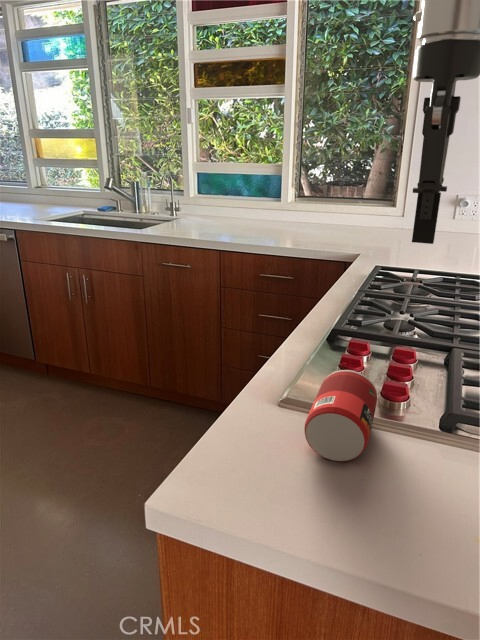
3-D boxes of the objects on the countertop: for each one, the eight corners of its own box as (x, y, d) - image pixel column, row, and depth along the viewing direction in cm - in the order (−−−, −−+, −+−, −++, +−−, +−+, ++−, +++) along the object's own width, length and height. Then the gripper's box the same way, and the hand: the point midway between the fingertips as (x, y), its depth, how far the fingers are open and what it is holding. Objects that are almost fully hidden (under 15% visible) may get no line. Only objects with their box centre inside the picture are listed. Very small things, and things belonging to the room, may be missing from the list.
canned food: (375, 424, 54) (384, 379, 63) (309, 401, 56) (327, 361, 66) (358, 472, 57) (369, 423, 67) (297, 449, 60) (316, 405, 69)
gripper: (421, 51, 61) (400, 230, 70) (409, 36, 50) (386, 250, 59) (485, 47, 58) (454, 234, 67) (487, 29, 47) (450, 256, 56)
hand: (422, 241), depth 63 cm, fingers closed
